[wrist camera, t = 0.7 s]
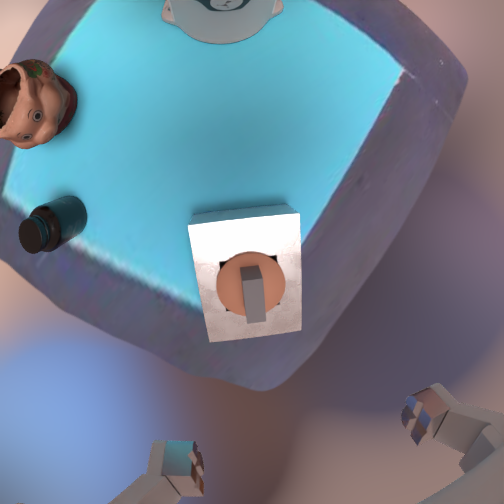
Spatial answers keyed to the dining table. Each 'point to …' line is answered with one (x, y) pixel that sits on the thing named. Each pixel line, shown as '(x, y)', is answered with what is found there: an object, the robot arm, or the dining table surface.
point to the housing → (242, 241)
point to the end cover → (250, 285)
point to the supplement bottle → (52, 225)
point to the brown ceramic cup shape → (34, 103)
